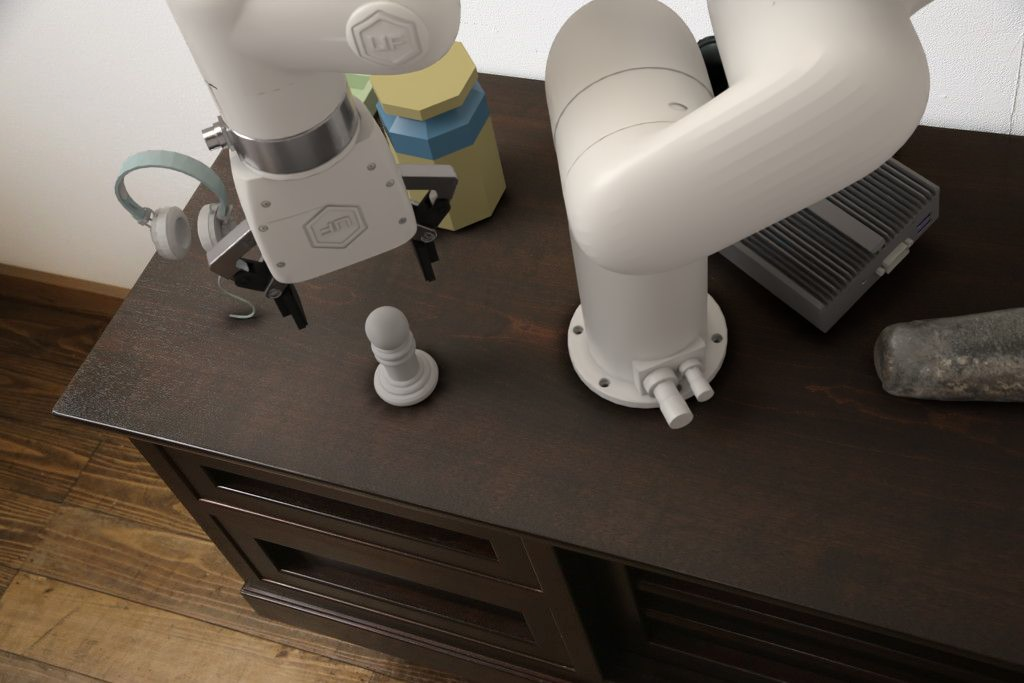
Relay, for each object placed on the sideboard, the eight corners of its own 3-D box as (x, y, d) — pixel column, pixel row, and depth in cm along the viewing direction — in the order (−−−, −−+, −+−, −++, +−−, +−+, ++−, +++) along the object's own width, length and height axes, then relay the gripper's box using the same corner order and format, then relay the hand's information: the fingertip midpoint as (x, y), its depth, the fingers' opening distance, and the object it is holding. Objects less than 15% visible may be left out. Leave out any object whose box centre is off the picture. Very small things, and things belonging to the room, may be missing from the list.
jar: (411, 165, 102) (371, 40, 89) (507, 155, 101) (480, 27, 88) (405, 240, 96) (361, 119, 84) (507, 231, 95) (477, 106, 83)
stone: (848, 359, 83) (922, 452, 76) (857, 317, 80) (936, 409, 73) (1002, 318, 86) (1088, 404, 79) (1017, 276, 83) (1108, 360, 76)
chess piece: (417, 342, 90) (391, 276, 83) (452, 383, 87) (429, 319, 80) (363, 377, 89) (332, 314, 81) (397, 420, 86) (369, 359, 79)
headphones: (295, 297, 95) (209, 134, 78) (287, 334, 93) (197, 174, 76) (206, 301, 96) (103, 141, 80) (196, 337, 94) (89, 181, 77)
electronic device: (798, 126, 92) (792, 91, 88) (945, 221, 85) (946, 188, 80) (692, 233, 92) (681, 204, 88) (831, 338, 84) (825, 312, 80)
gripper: (161, 210, 61) (259, 373, 75) (449, 108, 63) (492, 286, 77) (142, 125, 65) (238, 294, 79) (412, 32, 67) (459, 214, 81)
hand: (362, 290), depth 78 cm, fingers open, 9 cm apart
